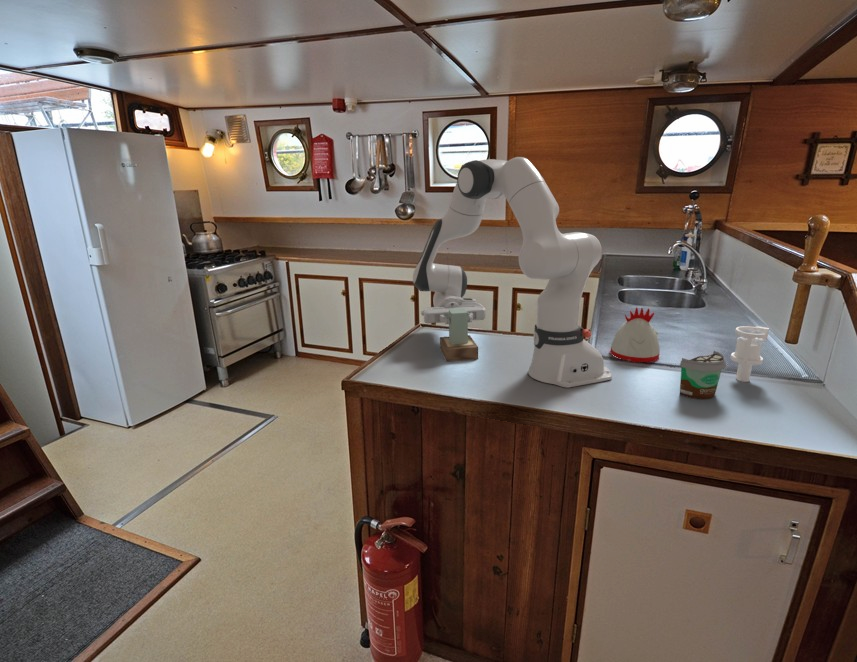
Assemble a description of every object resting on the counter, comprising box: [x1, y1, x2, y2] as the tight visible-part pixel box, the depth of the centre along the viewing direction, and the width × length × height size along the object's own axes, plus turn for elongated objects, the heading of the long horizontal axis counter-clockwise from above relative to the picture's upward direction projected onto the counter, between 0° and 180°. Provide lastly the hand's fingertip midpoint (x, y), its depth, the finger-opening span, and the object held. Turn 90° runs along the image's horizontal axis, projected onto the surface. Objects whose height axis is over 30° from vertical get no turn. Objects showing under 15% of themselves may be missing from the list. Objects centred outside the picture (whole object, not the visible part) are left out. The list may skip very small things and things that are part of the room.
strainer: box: [730, 325, 770, 383], centre depth 125 cm, size 7×7×15 cm
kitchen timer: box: [610, 307, 661, 363], centre depth 145 cm, size 14×14×15 cm
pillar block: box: [448, 309, 469, 344], centre depth 149 cm, size 5×5×10 cm
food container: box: [679, 350, 727, 400], centre depth 118 cm, size 12×6×10 cm, turn 114°
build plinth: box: [439, 334, 479, 362], centre depth 152 cm, size 10×12×4 cm
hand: (458, 320), depth 148 cm, fingers open, 5 cm apart
